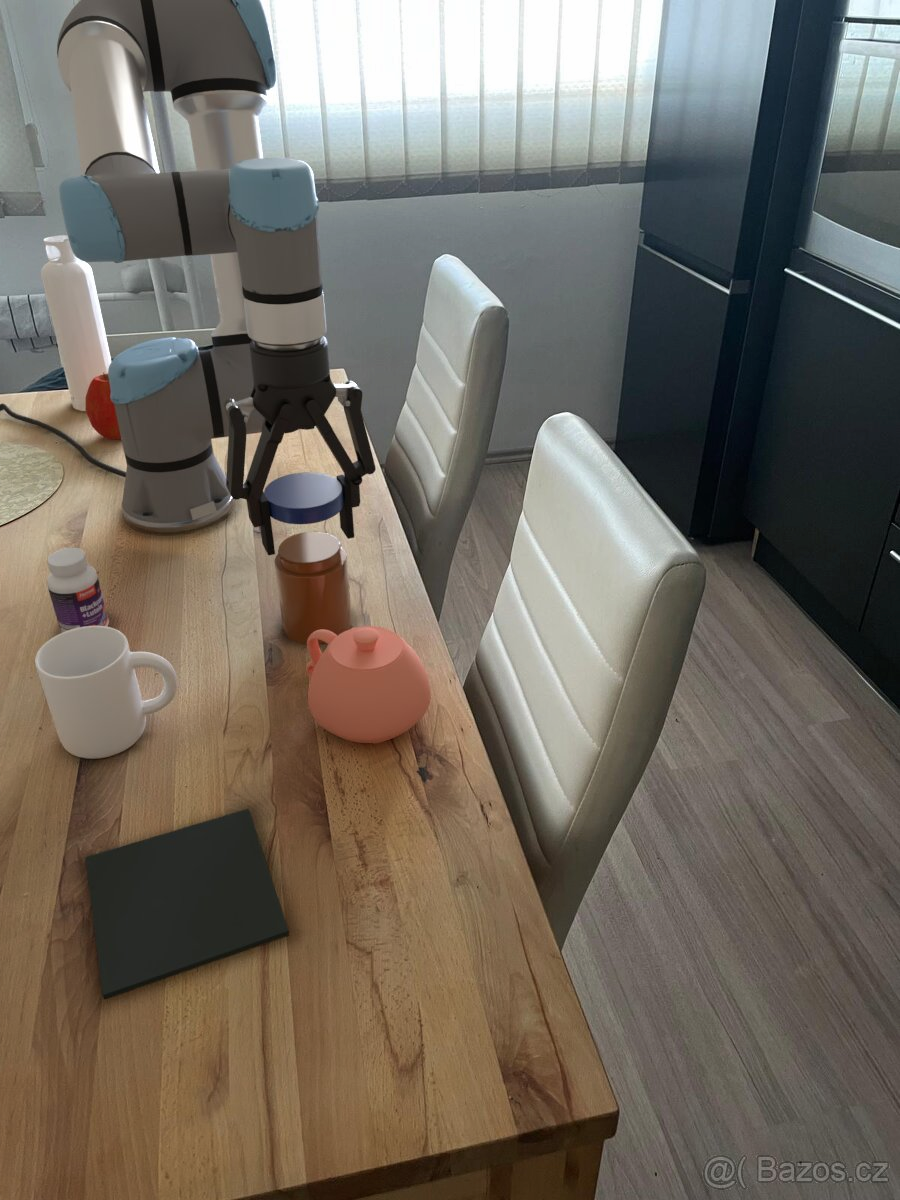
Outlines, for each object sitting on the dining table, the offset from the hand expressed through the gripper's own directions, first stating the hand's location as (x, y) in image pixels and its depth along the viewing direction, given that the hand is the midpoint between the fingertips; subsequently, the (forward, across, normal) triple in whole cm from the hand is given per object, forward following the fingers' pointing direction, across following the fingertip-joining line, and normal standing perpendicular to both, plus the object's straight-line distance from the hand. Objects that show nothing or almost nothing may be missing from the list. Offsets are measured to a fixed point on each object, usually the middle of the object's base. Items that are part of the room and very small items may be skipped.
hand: (308, 540), depth 101 cm
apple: (+12, +15, -66) cm, 68 cm away
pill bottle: (+11, +25, -10) cm, 29 cm away
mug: (+11, +23, +10) cm, 28 cm away
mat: (+11, +21, +33) cm, 41 cm away
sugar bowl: (+11, 0, +17) cm, 21 cm away
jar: (+11, 0, 0) cm, 11 cm away
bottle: (+12, +17, -82) cm, 84 cm away
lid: (-6, 0, 0) cm, 6 cm away
